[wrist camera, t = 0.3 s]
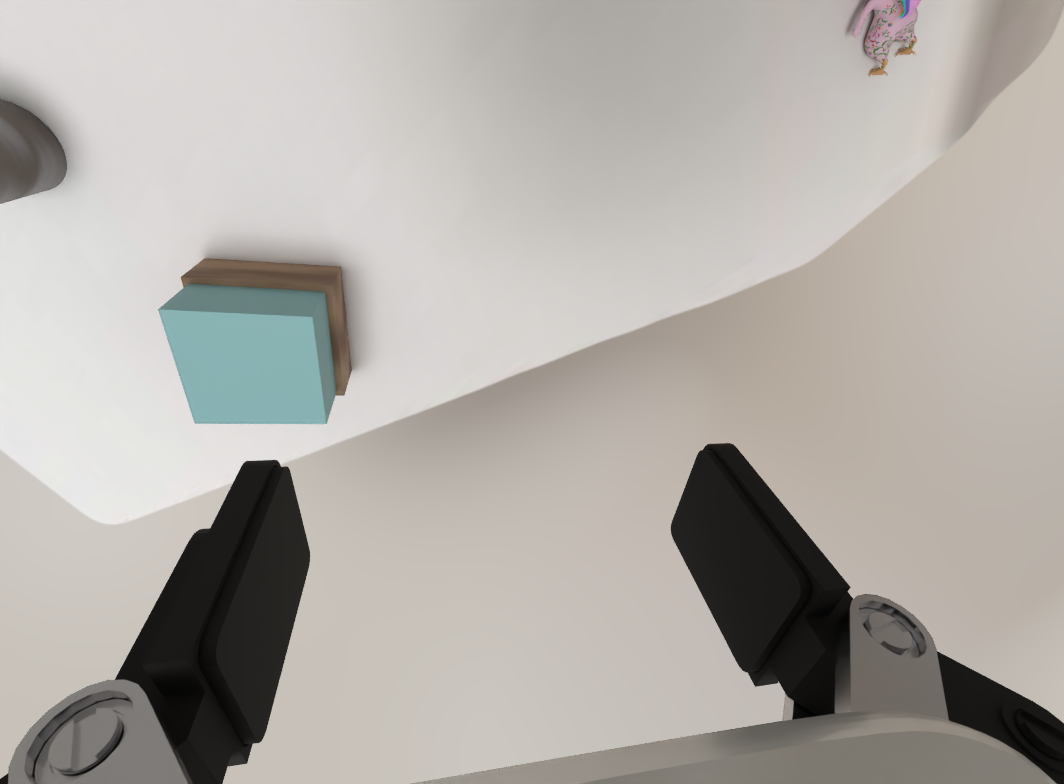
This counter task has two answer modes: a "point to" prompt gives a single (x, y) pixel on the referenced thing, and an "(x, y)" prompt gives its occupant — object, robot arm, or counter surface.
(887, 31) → the pink patterned figure
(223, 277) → the walnut base block
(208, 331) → the teal top block
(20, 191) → the charcoal cylinder
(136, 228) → the counter surface
